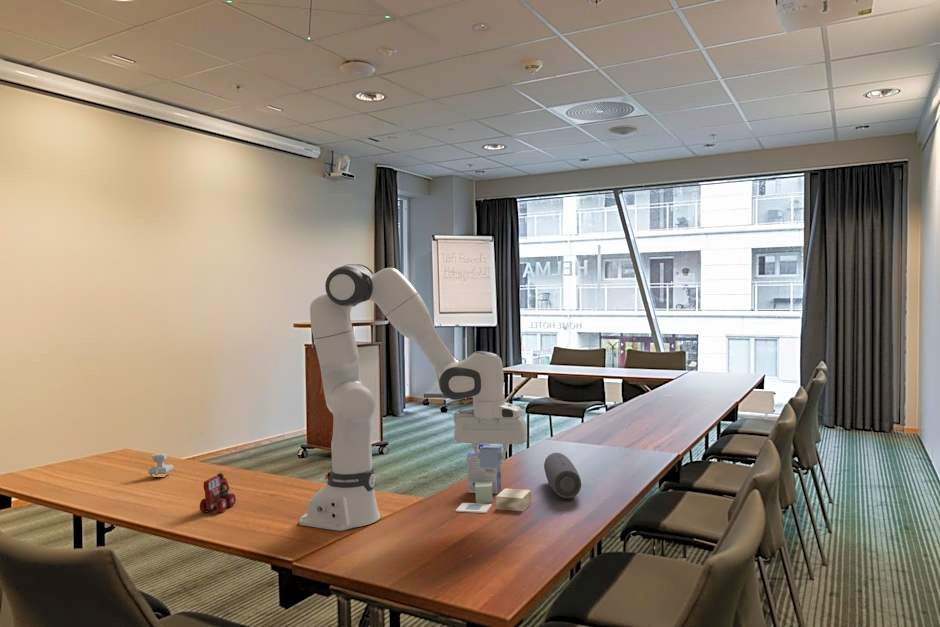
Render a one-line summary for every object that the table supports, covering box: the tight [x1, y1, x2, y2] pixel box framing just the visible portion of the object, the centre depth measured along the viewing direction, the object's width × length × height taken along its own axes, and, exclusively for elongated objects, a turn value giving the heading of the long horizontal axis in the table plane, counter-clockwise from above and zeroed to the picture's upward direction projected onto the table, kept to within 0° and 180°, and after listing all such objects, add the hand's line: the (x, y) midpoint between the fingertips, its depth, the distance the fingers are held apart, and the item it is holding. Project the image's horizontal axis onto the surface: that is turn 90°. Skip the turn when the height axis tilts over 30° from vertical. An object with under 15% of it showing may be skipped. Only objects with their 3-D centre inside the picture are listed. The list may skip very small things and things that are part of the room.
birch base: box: [495, 488, 532, 512], centre depth 188 cm, size 8×8×4 cm
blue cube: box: [480, 444, 503, 468], centre depth 179 cm, size 5×5×5 cm
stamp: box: [147, 452, 175, 476], centre depth 240 cm, size 9×7×8 cm
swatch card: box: [455, 502, 493, 514], centre depth 187 cm, size 9×7×1 cm
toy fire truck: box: [199, 472, 237, 513], centre depth 197 cm, size 7×12×10 cm, turn 172°
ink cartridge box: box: [466, 443, 502, 495], centre depth 203 cm, size 10×6×14 cm, turn 75°
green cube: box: [474, 481, 494, 504], centre depth 194 cm, size 5×5×5 cm
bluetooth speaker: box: [543, 452, 582, 499], centre depth 200 cm, size 23×9×10 cm, turn 0°
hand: (491, 459), depth 179 cm, fingers closed on blue cube, 5 cm apart
